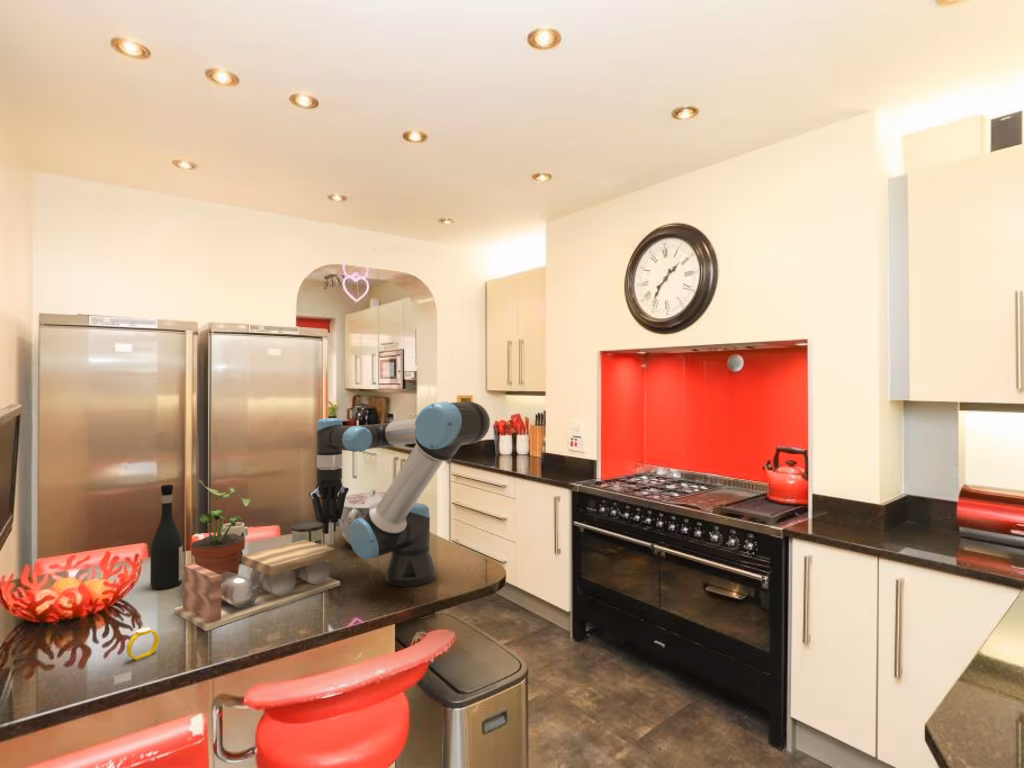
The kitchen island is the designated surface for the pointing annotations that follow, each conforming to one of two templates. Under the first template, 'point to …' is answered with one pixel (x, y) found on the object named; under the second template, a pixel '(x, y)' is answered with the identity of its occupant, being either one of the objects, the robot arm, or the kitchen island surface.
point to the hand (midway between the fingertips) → (329, 543)
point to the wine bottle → (166, 547)
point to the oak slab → (287, 557)
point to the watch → (138, 632)
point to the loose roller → (238, 590)
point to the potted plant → (219, 541)
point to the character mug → (236, 531)
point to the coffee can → (308, 532)
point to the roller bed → (273, 591)
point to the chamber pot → (357, 509)
